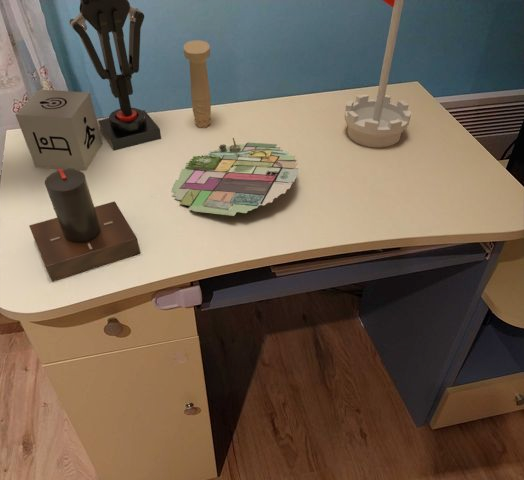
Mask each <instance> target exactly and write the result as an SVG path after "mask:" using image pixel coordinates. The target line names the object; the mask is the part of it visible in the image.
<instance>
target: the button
mask: <svg viewBox="0 0 524 480" xmlns="http://www.w3.org/2000/svg"><path fill="white" fill-rule="evenodd" d="M131 110H132V109H131ZM116 116H117V120H119V121H131V120H134V119H136V118H137V113H136V111H135V110H132V114H131V115H127V116H125V115H124V114H123V112H122V111H121V110H120V111H118V112H117V113H116Z"/></svg>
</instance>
